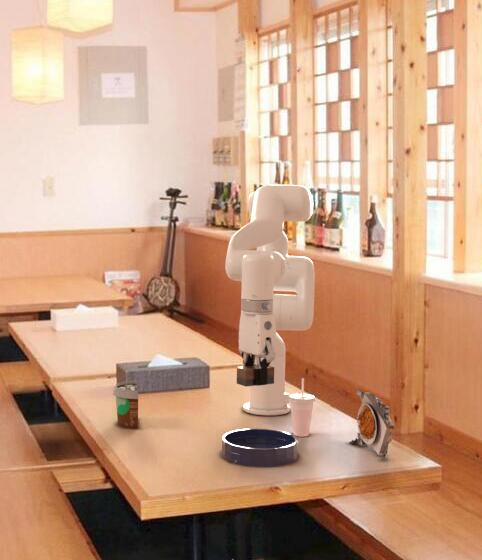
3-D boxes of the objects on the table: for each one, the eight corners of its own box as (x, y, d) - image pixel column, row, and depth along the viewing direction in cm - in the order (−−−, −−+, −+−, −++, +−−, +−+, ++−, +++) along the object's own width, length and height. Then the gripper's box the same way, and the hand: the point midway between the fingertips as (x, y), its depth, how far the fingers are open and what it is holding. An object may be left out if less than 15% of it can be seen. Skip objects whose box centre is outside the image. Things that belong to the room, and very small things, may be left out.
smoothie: (316, 432, 261) (318, 377, 260) (311, 439, 255) (312, 382, 254) (291, 430, 263) (292, 375, 262) (285, 436, 257) (286, 380, 256)
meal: (346, 443, 252) (348, 390, 250) (362, 442, 253) (364, 389, 252) (377, 461, 238) (378, 405, 236) (393, 459, 239) (395, 403, 238)
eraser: (264, 380, 252) (265, 364, 252) (274, 383, 249) (274, 367, 248) (236, 383, 248) (236, 366, 248) (245, 386, 245) (246, 369, 245)
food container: (112, 417, 273) (112, 380, 272) (136, 417, 274) (136, 380, 273) (113, 430, 261) (113, 391, 260) (138, 430, 262) (138, 390, 260)
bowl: (269, 441, 253) (269, 425, 253) (312, 460, 238) (312, 442, 238) (208, 450, 245) (208, 434, 244) (248, 470, 230) (249, 453, 229)
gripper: (290, 310, 241) (288, 388, 243) (251, 301, 256) (249, 375, 258) (263, 311, 238) (261, 391, 240) (224, 303, 252) (223, 378, 254)
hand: (255, 382), depth 249 cm, fingers closed on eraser, 4 cm apart
